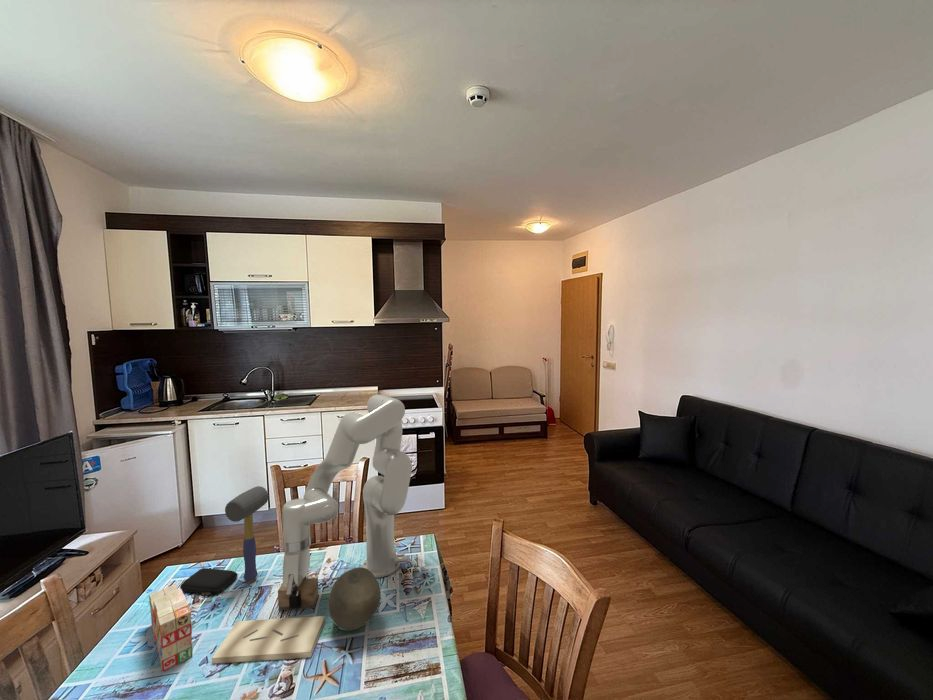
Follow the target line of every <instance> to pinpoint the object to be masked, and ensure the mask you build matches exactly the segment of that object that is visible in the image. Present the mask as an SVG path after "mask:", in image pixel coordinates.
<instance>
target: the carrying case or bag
mask: <svg viewBox="0 0 933 700" xmlns="http://www.w3.org/2000/svg"><path fill="white" fill-rule="evenodd" d="M237 578H238V573H237V572H236V571H235V570H228V569H219V568H209V567H208V568H207V567H205V568H204V567H203V568H201V569H199V570H197V571H195V572H194V573H193V574H192V575H191V576H189V577H188V578H186V579H185V580H184V581H183V582H182V583H181V584H180V586H179V589H181V590H182V592H187V593H198V594H201V596H210V595H211V596H212V595H218V594H220V593H221V592H223V591H224V590H225V589H226V588H227V587H229V585H231V584H232V583H233V582H234V581H236V580H237Z"/></svg>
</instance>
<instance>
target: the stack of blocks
mask: <svg viewBox="0 0 933 700" xmlns="http://www.w3.org/2000/svg"><path fill="white" fill-rule="evenodd" d="M148 599H149V608H150V619H151V620H150V621H151V628H152V632H153V638H154V641H155V645H156V649H157V652H158V653H157V654H158V659H159V662H160V663H159V664H160V668H161V672H162V673H163V672H166V671H168V670H169V669H171V668H173V667H175V666H177V665H179V664H181V663H183V662H185V661H187V660H189V659H191V658H193V654H194V653H193V640H192V639H193V638H192V637H193V636H192V635H193V630H192V627H193V626H192V611H191V608H190V606H189V603H188V601H187V597H186V596H185V594H184V591H182V590H181V589H180V588H178V586H177V584H176V583H175V584H172V585H169V586H168V587H165V588H162V589H160V590H158V591H155V592H152V593H150V594H148Z"/></svg>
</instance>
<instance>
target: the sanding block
mask: <svg viewBox="0 0 933 700" xmlns="http://www.w3.org/2000/svg"><path fill="white" fill-rule="evenodd" d="M294 584H295V582H294ZM287 587H288V585H287ZM287 587H285V588H284V587H283V582H282V583H281V585H280V587H279V588H278V590H277V601H278V603H277V606H278V611H287V610H288V611H289V610H304V609H306V610H307V609H314V608H315V605H316V603H317V602H318V601H317V600H318V598H319V578H318V577H313V578H312V577H310V578H307V579H304V580H303V581H302V583H301V585H300V591H299V594H301V607H300V608H289V596H288V595H286V592H287ZM296 589H297V587H293V590H296Z"/></svg>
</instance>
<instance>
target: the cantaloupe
mask: <svg viewBox="0 0 933 700" xmlns="http://www.w3.org/2000/svg"><path fill="white" fill-rule="evenodd" d="M381 593H382V591H381V587H380V583H379V581H378V578H375V576H374V575H373V574H372V572H371V571H369V570H368V569H366V568H362V566H361V567H354V568H351V569H349V570H347V571H345V572H343V573H342V574H340V576H338V577H337V578H336V580H335V581H334V583H333V585H332V586H331V589H330V592H329V596H328V612H329V616H330V618H331V620H332V621H333V623H334V624H335V625H336V626H337V628H339V629H340V630H344V631H355V630H358V629H360V628H362V627H364V626H365V625H366V624H367V623H368V622H369V621H370V620H371V619H372V618H373V617H374V615H375V614H376V612H378V611H377V610H378V609H379V606H380V602H381V597H382V596H381V595H382V594H381Z"/></svg>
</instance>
